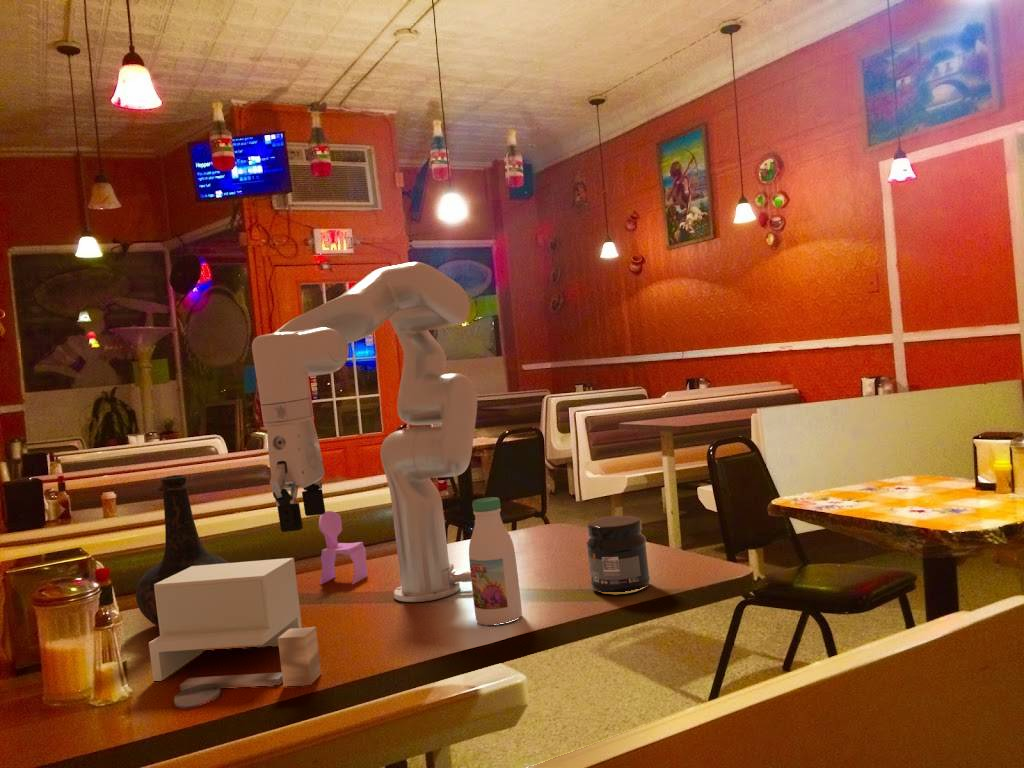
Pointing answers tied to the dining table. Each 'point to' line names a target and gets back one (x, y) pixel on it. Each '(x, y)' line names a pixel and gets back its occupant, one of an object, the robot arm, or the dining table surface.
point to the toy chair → (339, 549)
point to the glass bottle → (174, 545)
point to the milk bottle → (493, 566)
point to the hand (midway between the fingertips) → (304, 522)
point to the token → (196, 695)
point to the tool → (295, 664)
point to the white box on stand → (222, 610)
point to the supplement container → (617, 554)
